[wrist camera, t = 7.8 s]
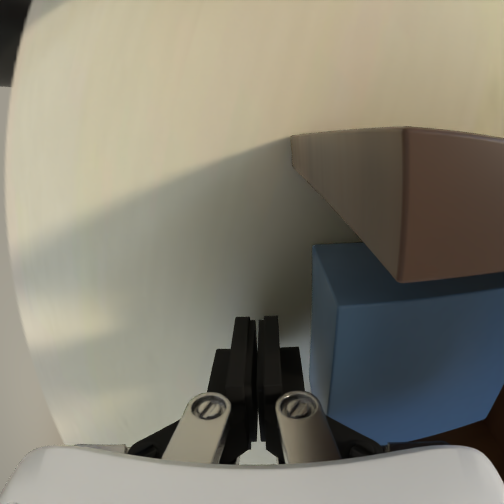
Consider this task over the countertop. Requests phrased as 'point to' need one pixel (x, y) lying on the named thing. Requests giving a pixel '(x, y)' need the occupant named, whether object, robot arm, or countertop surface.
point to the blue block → (402, 346)
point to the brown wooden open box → (419, 215)
